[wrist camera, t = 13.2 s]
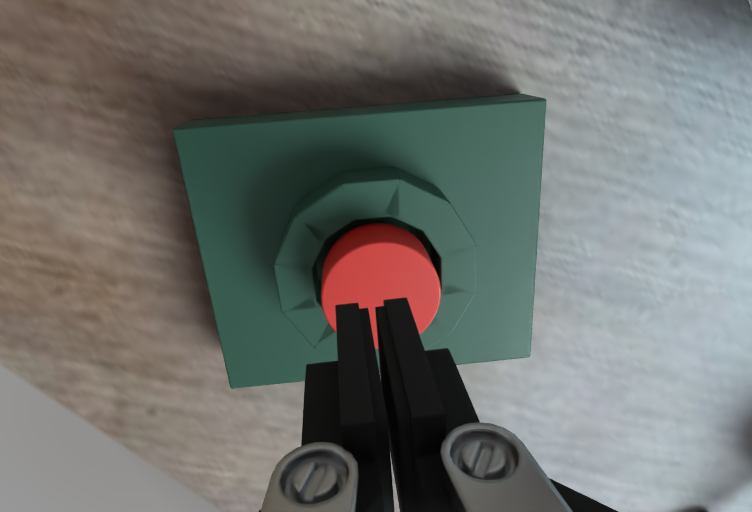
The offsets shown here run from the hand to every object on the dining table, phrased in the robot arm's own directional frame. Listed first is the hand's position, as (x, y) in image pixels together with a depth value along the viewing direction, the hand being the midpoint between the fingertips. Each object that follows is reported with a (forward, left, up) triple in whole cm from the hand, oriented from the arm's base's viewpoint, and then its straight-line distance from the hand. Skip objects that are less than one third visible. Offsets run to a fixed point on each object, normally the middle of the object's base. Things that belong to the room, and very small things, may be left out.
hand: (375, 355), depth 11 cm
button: (0, 0, -5) cm, 5 cm away
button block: (0, 0, -9) cm, 9 cm away
